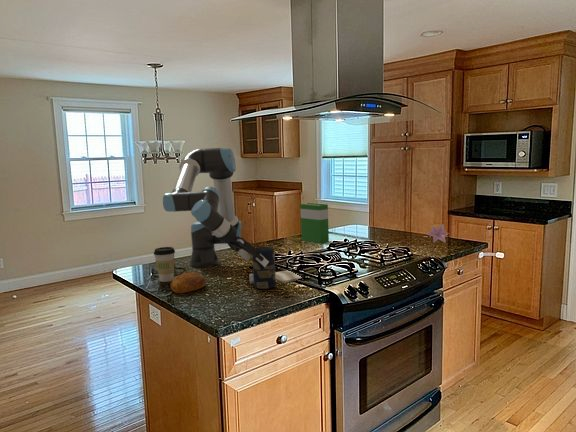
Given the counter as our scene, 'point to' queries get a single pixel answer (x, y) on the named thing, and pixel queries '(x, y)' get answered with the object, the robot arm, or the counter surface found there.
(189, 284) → the bread loaf
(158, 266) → the coffee cup
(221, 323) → the counter surface
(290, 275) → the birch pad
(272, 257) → the canister
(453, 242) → the counter surface
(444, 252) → the counter surface
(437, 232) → the lily
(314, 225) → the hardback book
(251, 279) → the metal slug
